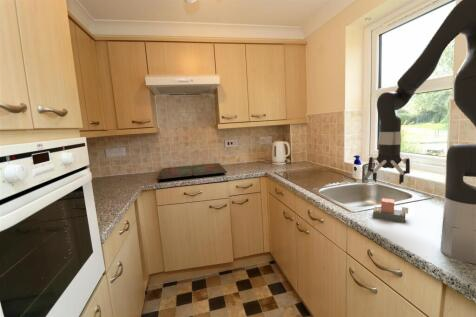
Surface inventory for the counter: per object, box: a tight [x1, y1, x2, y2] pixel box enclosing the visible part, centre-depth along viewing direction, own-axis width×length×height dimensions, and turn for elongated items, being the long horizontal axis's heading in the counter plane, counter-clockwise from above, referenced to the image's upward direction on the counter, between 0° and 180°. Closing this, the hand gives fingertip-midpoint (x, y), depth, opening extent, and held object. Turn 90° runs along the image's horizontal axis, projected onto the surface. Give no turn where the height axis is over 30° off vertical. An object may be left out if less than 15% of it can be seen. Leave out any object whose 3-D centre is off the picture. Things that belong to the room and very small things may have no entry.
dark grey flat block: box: [372, 206, 406, 223], centre depth 98 cm, size 6×11×3 cm, turn 55°
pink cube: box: [380, 197, 395, 213], centre depth 98 cm, size 4×4×4 cm
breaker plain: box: [401, 205, 409, 215], centre depth 95 cm, size 2×2×2 cm
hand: (387, 182), depth 96 cm, fingers open, 8 cm apart
